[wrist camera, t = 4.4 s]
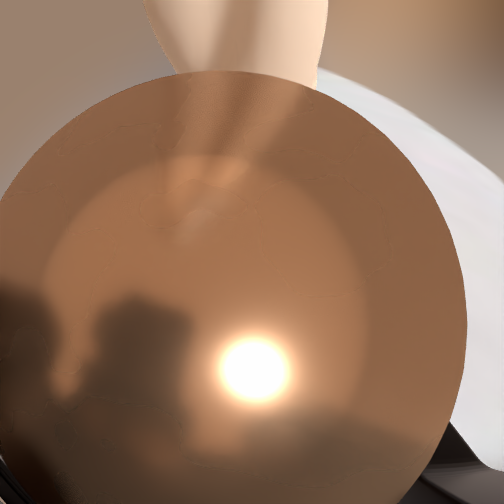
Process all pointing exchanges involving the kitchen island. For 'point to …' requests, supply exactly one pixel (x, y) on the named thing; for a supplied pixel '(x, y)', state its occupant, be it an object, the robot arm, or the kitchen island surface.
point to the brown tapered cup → (224, 303)
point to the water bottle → (242, 36)
